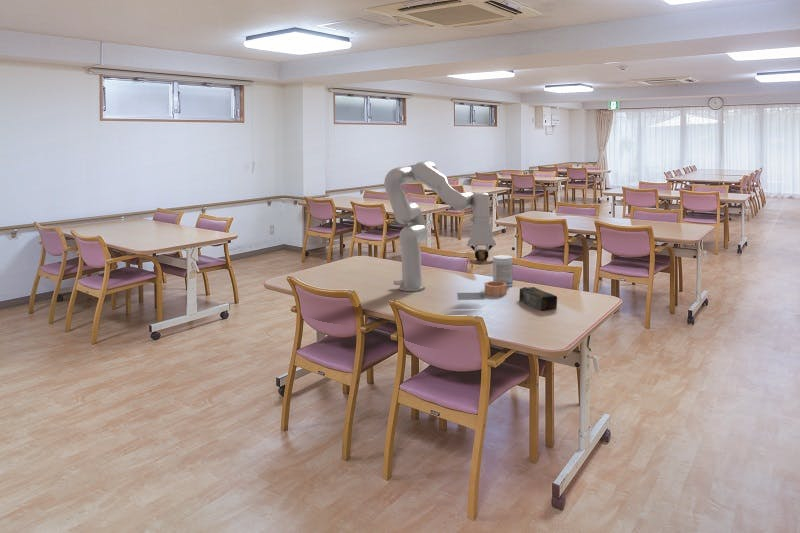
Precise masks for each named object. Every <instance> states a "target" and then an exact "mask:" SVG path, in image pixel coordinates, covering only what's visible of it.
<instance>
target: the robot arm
mask: <svg viewBox="0 0 800 533" xmlns="http://www.w3.org/2000/svg"><path fill="white" fill-rule="evenodd" d="M419 182H420V183H422V184H424V185H425V186H426V187H428V188H429V189H431V190H432V191H434V192H435V193H436V194H437V196H438V198H440V199H441V200H442V202H444V203H446V205H448V206H450V207H451V208H452V209H454V210H457V211H464V210H467V209H471V208H472V217H469V222H471V224H470V230H469V231H470V232H469V233H470V234H469V235H470V236H469V240H468V241H467V243H466V246H467V247H468V248H470V249H472V250H473V251H474V258H476V259H477V260H478V246H485V248H484V249H485V260H487V258H489V252H490V250H491V249H492V248H493V247H495V246H496V245H497V243H496V241H495V239H494V238H493V237H494V235H493V225H492V222H490V195H489V193H488V192H471V191H464V192H459V191H458V190H456V189H454V188H453V187H452V186H451V185H450V184H449V182H448V178H447V176H446V175H445V174H443V173H441V172H440V171H439V170H438V168H437V166H436V164H435V163H434V162H432V161H430V160H425V161H420V162H417V163H415V164H411V165H407V166H406V165H405V166H399V167H394V168H391V170H389V171H388V172H387V174H386V175H385V177H384V184H383V185H384V188H385V192H386V194H387V197H388V199H389V203H390V206H391V209H392V211H393V214H394V218H395V221H396V222H397V223H399V224H402V225H405V224H407V226H405V227H403V228H402V229H400V232H399V244H400V251H401V276H402V277H401V279H399V280H393V285H395V286H399V290H400V289H401V290H400V291H402V290H404V291H403V292H419V291H423V290H425V288H426V287H425V285H424V284H423V283H422V255H421V254H422V253H421V252H422V251H421V247H420V243H421V242H423V241H425V240H426V239H427V238H428V235H429V232H428V230H429V229H428V226H427V223H426V221H425V217H424V215H423V212H422V209H421V207H420V206H419V205H418V204H417V203H415V202H409V200H408V197H407V194H406V192H405V190H404V189H403V188H402V186H403V185H408V184H413V183H419Z"/></svg>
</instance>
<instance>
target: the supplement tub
mask: <svg viewBox="0 0 800 533" xmlns="http://www.w3.org/2000/svg"><path fill="white" fill-rule="evenodd" d="M492 259H493V260H494V262H493V263H492V280H493V281H500V282H505V283H506V284H507V287H512V286H513V277H514V276H513V274H514V272H513V270H514V269H513V264H514V262H513V256H512V255H509V254H508V255H507V254H506V255H505V254H502V255H501V254H500V255H499V254H498V255H495V256H493V258H492Z"/></svg>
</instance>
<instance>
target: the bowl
mask: <svg viewBox="0 0 800 533" xmlns="http://www.w3.org/2000/svg"><path fill="white" fill-rule="evenodd" d="M507 289H508V288H507V284H506V283H505V282H500V281H487V282H484V294H485V295H487V296H492V297H493V296H494V297H500V296H504V295H507V292H508V290H507Z"/></svg>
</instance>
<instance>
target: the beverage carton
mask: <svg viewBox="0 0 800 533" xmlns="http://www.w3.org/2000/svg"><path fill="white" fill-rule="evenodd" d="M518 296H519V298H518V299H519V301H520V302H522V303H524V304H525V305H528V304H529V305H528V306H530V305H531V306H530V307H532V306H533V308H535V309H537V310H539V311H542V312H544V311H545V310H546V311H551V310H553V309H554V310H557V308H558V306H557V305H558V295H554V294H552V293H549V292H547V291H544V290H542V289H540V288H537V287H534V286H532V287H531V286H530V287H527V286H523V287H522V288H519V295H518ZM546 311H545V312H546Z"/></svg>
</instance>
